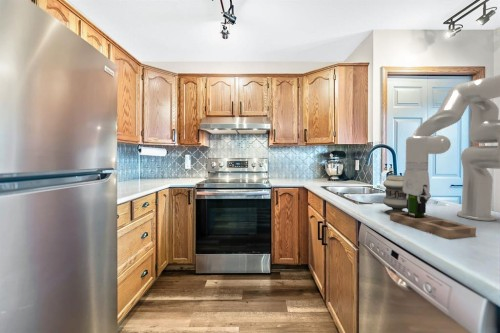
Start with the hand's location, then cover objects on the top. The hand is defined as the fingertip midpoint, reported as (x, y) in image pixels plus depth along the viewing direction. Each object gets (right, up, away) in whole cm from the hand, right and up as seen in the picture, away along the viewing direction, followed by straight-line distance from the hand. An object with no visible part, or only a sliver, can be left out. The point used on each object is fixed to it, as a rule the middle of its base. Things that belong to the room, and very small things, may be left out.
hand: (415, 210), depth 98 cm
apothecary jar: (+2, -4, +16) cm, 16 cm away
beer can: (0, -4, 0) cm, 4 cm away
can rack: (+1, -5, -6) cm, 8 cm away
